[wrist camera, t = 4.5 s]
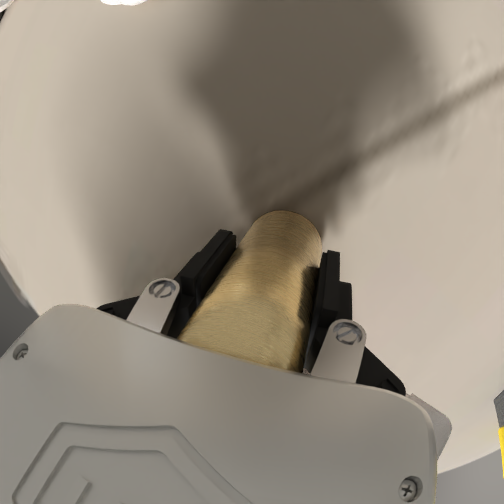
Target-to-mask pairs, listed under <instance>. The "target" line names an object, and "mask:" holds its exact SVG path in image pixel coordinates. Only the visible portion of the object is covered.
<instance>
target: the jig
mask: <svg viewBox="0 0 504 504" xmlns="http://www.w3.org/2000/svg"><path fill="white" fill-rule="evenodd" d="M494 404H495V408H496V412H497V417H498V422H499V427H500V428H502V427H504V391H503V392H502V393H501V394H500V395H499V396H498V397H497V398H496V399H495V400H494Z"/></svg>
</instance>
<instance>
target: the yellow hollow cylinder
mask: <svg viewBox="0 0 504 504" xmlns="http://www.w3.org/2000/svg"><path fill="white" fill-rule="evenodd" d="M498 433H499V439H500V446H501V453H502V464H503V477H504V427H502V428H500V429H499V431H498Z"/></svg>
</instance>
